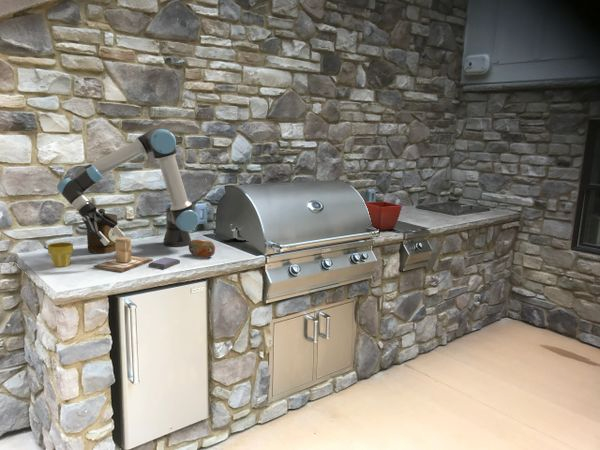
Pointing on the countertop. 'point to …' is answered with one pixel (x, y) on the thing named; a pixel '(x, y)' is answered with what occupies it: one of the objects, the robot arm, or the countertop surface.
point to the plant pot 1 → (60, 253)
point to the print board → (123, 264)
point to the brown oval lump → (201, 248)
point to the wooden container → (107, 231)
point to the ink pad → (164, 263)
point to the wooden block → (123, 250)
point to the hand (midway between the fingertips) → (115, 240)
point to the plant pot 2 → (383, 214)
